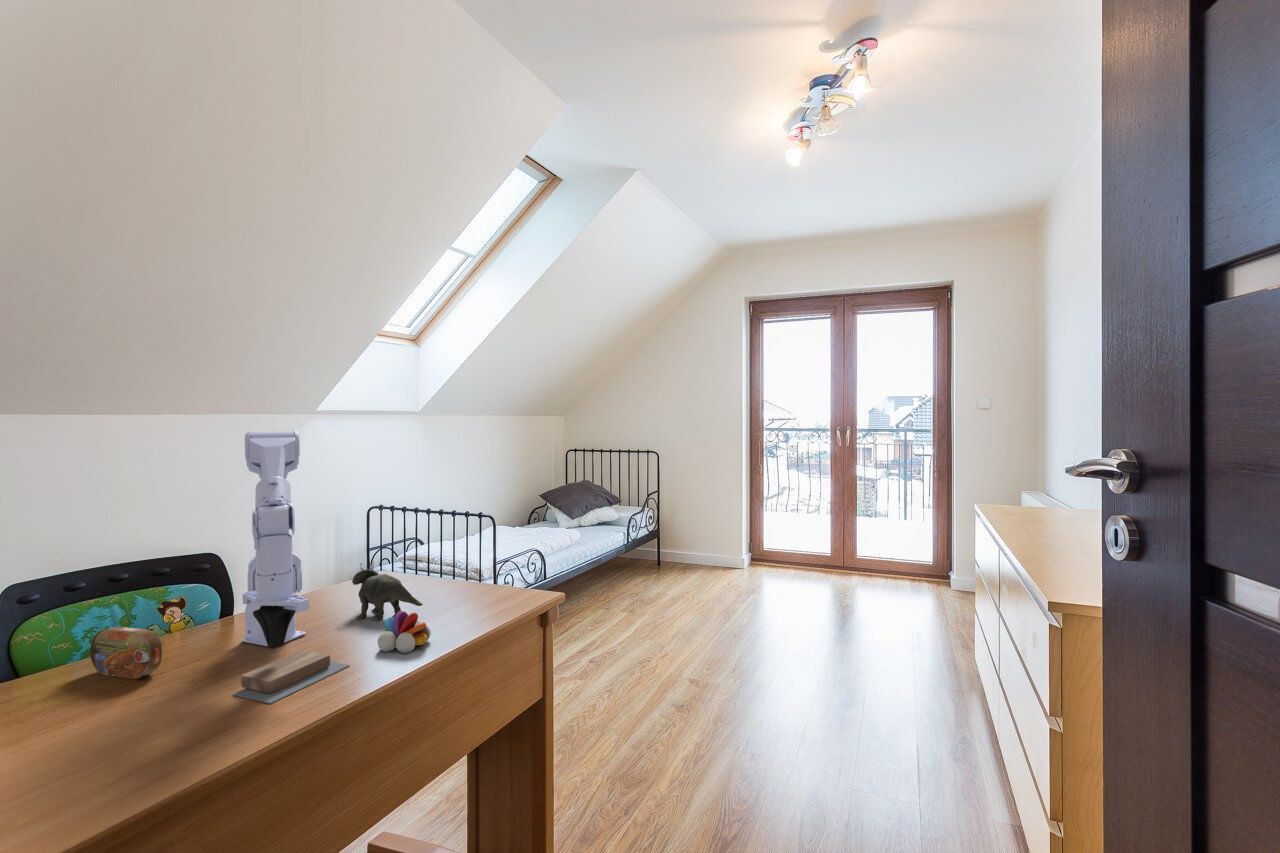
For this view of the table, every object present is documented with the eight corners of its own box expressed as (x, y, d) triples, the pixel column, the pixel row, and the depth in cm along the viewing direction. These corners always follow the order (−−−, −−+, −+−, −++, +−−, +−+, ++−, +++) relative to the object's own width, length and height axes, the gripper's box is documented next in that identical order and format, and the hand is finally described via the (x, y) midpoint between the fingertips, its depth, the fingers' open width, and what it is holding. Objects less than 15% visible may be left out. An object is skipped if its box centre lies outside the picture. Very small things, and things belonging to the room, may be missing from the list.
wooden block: (241, 675, 104) (269, 681, 102) (302, 650, 116) (329, 655, 113) (241, 688, 104) (270, 694, 102) (302, 661, 116) (330, 667, 113)
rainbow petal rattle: (414, 656, 118) (413, 620, 118) (370, 653, 120) (369, 617, 120) (437, 640, 127) (436, 606, 127) (395, 637, 129) (395, 604, 128)
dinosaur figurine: (427, 619, 140) (426, 571, 139) (395, 630, 133) (394, 579, 132) (369, 604, 152) (369, 559, 151) (337, 613, 144) (336, 567, 144)
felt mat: (232, 695, 102) (232, 694, 102) (314, 659, 117) (314, 658, 117) (270, 704, 99) (270, 702, 99) (349, 666, 114) (349, 664, 114)
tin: (88, 673, 112) (87, 627, 112) (107, 666, 115) (106, 622, 115) (148, 682, 108) (147, 635, 107) (166, 675, 111) (165, 629, 110)
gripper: (225, 573, 108) (226, 649, 109) (282, 581, 103) (284, 660, 103) (262, 564, 115) (263, 635, 115) (318, 571, 110) (319, 645, 110)
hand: (276, 646), depth 110 cm, fingers closed
